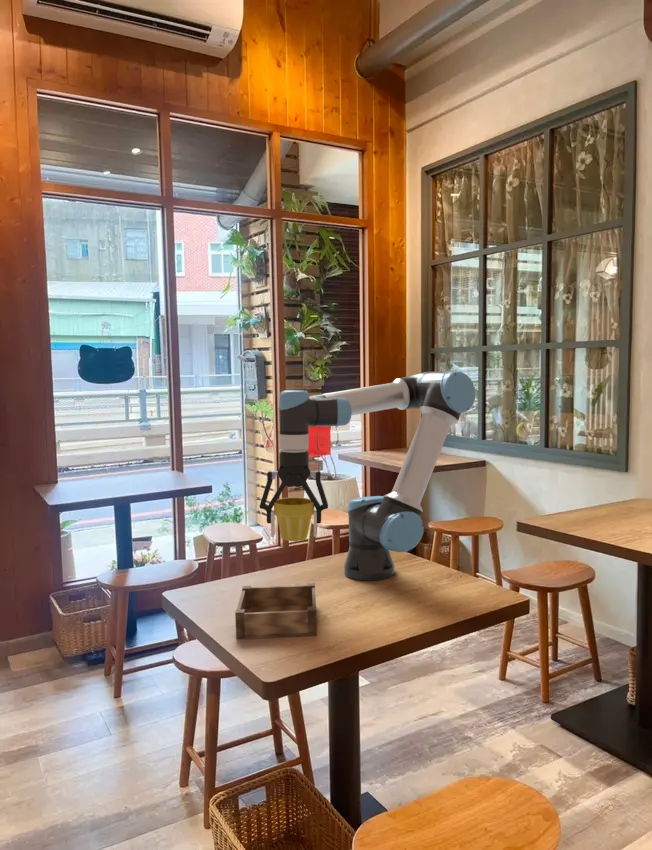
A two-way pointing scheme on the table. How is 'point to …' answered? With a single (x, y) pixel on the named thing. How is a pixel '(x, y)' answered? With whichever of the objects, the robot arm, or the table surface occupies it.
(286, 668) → the table surface
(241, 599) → the walnut crate
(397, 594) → the table surface
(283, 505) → the plant pot
